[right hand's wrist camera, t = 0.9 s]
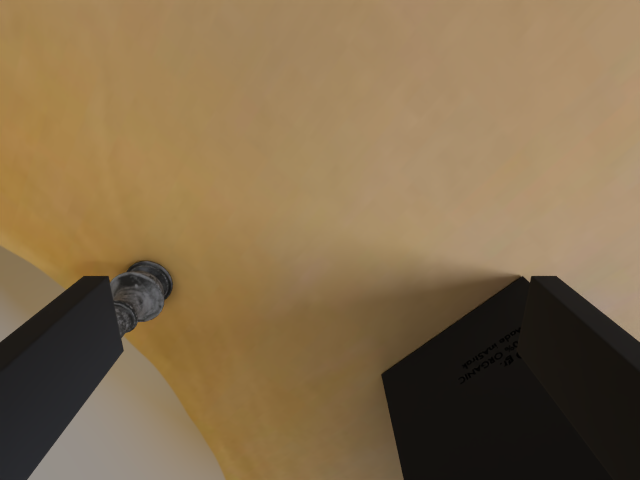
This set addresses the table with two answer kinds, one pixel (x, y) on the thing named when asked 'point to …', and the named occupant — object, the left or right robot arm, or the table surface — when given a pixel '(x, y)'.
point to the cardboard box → (482, 405)
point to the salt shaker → (140, 294)
